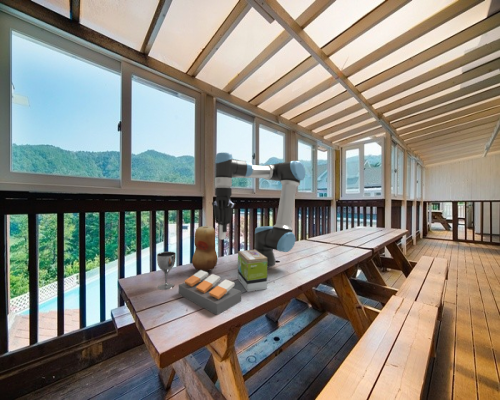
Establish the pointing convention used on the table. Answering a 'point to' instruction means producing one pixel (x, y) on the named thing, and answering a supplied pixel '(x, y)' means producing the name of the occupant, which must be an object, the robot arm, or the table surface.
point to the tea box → (252, 270)
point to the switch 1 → (196, 278)
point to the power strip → (210, 297)
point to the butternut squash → (204, 249)
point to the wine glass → (166, 267)
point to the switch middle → (208, 283)
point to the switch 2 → (221, 289)
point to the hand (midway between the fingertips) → (222, 238)
